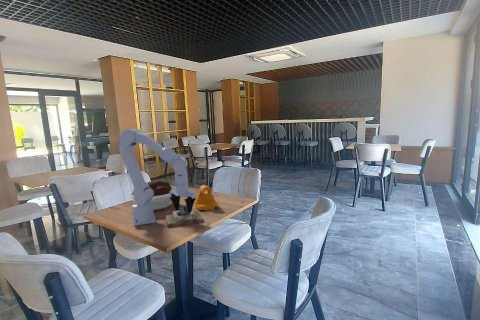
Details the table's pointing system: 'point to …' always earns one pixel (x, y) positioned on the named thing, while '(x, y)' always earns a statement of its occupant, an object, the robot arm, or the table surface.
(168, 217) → the nut plate
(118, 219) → the table surface
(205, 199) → the bracket
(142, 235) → the table surface
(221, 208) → the table surface
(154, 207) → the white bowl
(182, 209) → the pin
